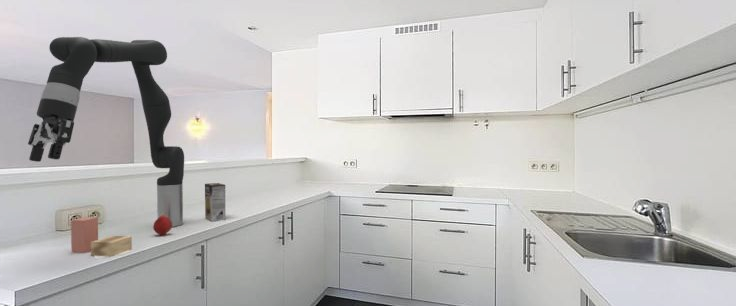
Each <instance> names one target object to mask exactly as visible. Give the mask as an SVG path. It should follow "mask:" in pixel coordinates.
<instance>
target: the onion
mask: <svg viewBox="0 0 736 306" xmlns="http://www.w3.org/2000/svg"><path fill="white" fill-rule="evenodd" d="M172 228H173V227H172V222H171V221H170V219H169V218H167V217H165V214H162V215H161V216H160V217H159V218H158V219H156V220H155V221H154V223H153V230H154V232H155V233H156V234H158V235H160V236H166V235H167V233H169V232H170V231H171V230H172Z"/></svg>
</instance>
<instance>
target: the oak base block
mask: <svg viewBox="0 0 736 306" xmlns="http://www.w3.org/2000/svg"><path fill="white" fill-rule="evenodd" d="M132 242H133V241H132V236H131V235H130V236H128V235H127V236H126V235H110V236H107V237H103V238H100V239H99V238H98V240H96V241H92V242H91V251H90V255H91V256H94V255H97V256H107V257H113V256H117V255H116V254H118V255H120V254H119V253H122V252H125V251H127V250H130V251H131V250H132V248H133V246H132Z"/></svg>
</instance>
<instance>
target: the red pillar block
mask: <svg viewBox="0 0 736 306" xmlns="http://www.w3.org/2000/svg"><path fill="white" fill-rule="evenodd" d="M70 228H71V229H70V232H71V233H70V236H71V240H70V241H71V246H70V247H71V253H73V254H74V253H75V254H76V253H77V254H86V253H89V252H91V242H92V241H96V240H99V218H98V217H95V216H94V217H90V216H89V217H87V216H85V217H80V218H75V219H72V220H70Z"/></svg>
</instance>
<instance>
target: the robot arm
mask: <svg viewBox="0 0 736 306" xmlns="http://www.w3.org/2000/svg"><path fill="white" fill-rule="evenodd" d="M48 50H49V51H50V53H51V55H52V56H53V57H54V58H55V59H56V60H58V61H60V62H62V63H59V64H57V65H56V64H55V65H54V66H52V67H51V69H50V71H49V75H48V77H47V81H46V84H45V87H44V89H43V90H42V93H41V97H40V101H39V104H38V106H37V110H36V115H37V117H39V118H41V119H42V122H41V124H37V123H34V125H33V126H32V129H31V134H30V136H29V139H28V143H27V144H28V145H29V146H31V151H30V155H29V157H28V159H29V161H31V162H41V161H42V159H43V156H44V150H45V147H46V146H47V144H48V143H51V144H50V146H49V151H48V155H47V158H48V159H50V160H51V159H52V160H60V158H61V155H62V152H63V148H64V146H65V145H66V144H67V143H68V144H69V143H70V142H71V140H72V135H73V130H74V125H75V117H76V114H77V113H76V112H77V110H78V105H79V103H80V97H81V96H80V95H81V89H82V86H83V82H84V80H85V79H84V78H85V77H86V76H87V75H88V74H89V72H90V70H91V69H92V67H93V66H94V64H95V63H124V62H127V63H129V62H131V65H132V68H133V72H134V75H135V76H136V81H137V85H138V89H139V94H140V98H141V104H142V109H143V113H144V118H145V122H146V126H147V132H148V139H149V148H150V149H149V150H150V156H151V157H150V158H151V161H152V163H153V166H154V167H155V168H158V169H169V170H168V173H166V174H165V175H163V176H161V177H158V178H156V179H157V180H156V198H157V203H156V207H157V210H156V211H157V212H156V213H157V215H156V217H157V219H158V218H159V217H160V216H161V215H162V214H165V217H167V218H169V219H170V221H171V222H172V228H173V227H179V226H182V225H183V224H184V199H183V198H184V196H183V195H184V192H183V190H184V187H183V183H184V182H183V180H184V173H185V171H184V170H185V152H184V150H183V148H182V147H180V146H177V145H176V146H174V145H173V146H171V145H170V146H165V143H164V134H165V131H166V129H167V127H168V125H169V123H170V121H171V118H172V109H171V104H170V100H169V97H168V95H167V94H166V93H165V91H164V90H163V88H161V86H160V85H159V83H157V82H156V80H155V78H154V76H153V74H152V71H151V67H150V66H160V65H163V64H164V63H166V61H167V59H168V52H167V49H166V47H165V45H164V44H163V43H161V42H160V41H158V40H155V39H136V40H135V39H134V40H131V41H130V42H129V41H119V40H112V39H101V38H100V39H99V38H94V39H89V38H88V37H83V36H71V37H70V36H67V37H65V36H61V37H56V38H54V39H53V40H51V42H50V44H49V49H48ZM157 219H156V220H157Z"/></svg>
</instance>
